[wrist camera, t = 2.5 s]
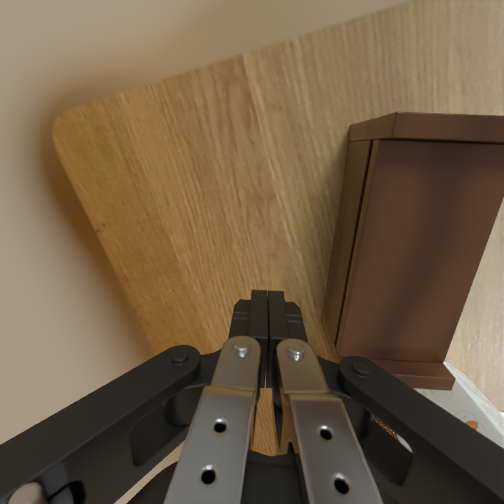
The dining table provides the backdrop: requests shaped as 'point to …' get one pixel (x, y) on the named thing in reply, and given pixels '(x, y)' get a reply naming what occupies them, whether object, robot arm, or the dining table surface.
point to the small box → (467, 407)
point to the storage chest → (411, 238)
